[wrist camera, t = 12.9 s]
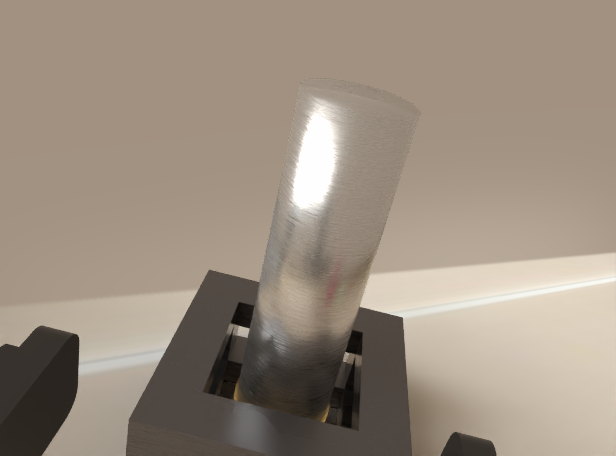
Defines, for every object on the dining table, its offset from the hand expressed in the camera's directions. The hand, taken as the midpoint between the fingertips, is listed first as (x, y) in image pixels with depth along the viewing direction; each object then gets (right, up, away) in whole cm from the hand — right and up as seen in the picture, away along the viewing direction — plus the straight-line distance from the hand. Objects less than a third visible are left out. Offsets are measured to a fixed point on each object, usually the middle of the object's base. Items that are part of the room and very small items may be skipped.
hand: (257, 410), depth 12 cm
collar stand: (-1, -7, +16) cm, 18 cm away
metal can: (-1, -7, +16) cm, 18 cm away
